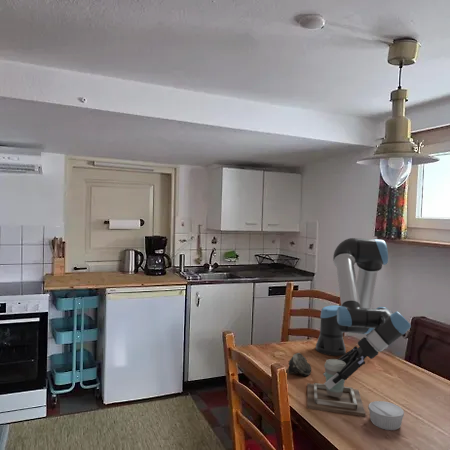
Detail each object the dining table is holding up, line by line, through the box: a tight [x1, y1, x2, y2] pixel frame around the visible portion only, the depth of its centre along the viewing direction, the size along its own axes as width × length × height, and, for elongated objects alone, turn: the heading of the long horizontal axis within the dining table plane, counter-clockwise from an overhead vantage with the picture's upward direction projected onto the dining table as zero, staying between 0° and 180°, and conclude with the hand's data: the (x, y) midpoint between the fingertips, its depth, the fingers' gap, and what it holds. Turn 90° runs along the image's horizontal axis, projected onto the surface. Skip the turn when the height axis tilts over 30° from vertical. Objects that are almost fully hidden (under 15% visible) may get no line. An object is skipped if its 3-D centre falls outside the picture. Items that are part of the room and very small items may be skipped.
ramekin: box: [367, 400, 405, 431], centre depth 134 cm, size 11×11×5 cm
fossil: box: [287, 352, 312, 377], centre depth 176 cm, size 11×9×10 cm
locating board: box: [306, 382, 367, 417], centre depth 150 cm, size 20×20×2 cm
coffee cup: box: [324, 358, 346, 397], centre depth 150 cm, size 9×8×12 cm
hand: (326, 381), depth 151 cm, fingers closed on coffee cup, 8 cm apart
